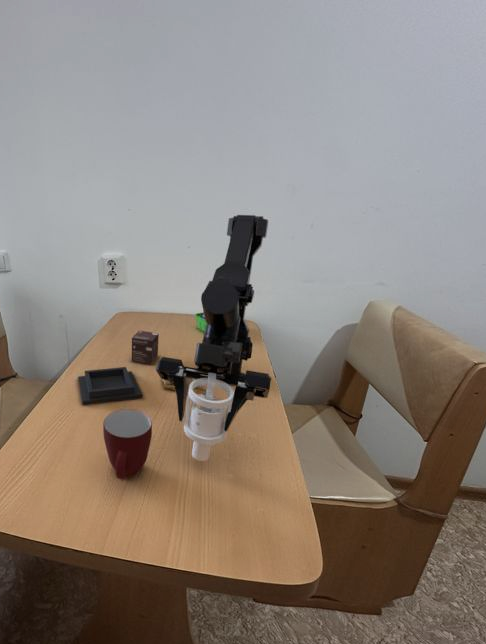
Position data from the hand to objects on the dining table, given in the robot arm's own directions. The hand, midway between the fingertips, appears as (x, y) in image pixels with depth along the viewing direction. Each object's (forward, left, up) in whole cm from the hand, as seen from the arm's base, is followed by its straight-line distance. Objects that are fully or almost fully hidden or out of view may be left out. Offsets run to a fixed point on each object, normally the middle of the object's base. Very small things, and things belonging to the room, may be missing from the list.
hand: (202, 426), depth 61 cm
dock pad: (-6, -33, -9) cm, 34 cm away
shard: (-21, -22, -10) cm, 32 cm away
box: (-24, -39, -10) cm, 47 cm away
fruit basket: (-56, -39, -10) cm, 69 cm away
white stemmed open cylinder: (-1, -1, -7) cm, 8 cm away
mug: (+10, -8, -10) cm, 16 cm away
